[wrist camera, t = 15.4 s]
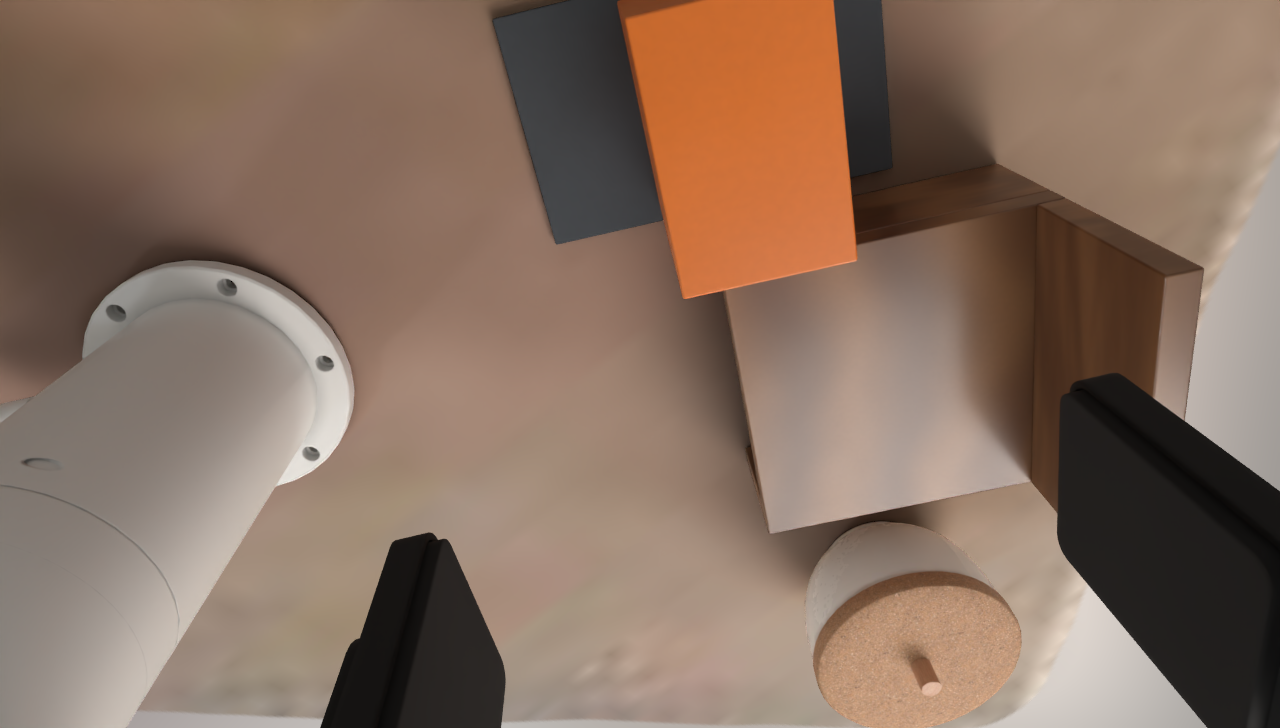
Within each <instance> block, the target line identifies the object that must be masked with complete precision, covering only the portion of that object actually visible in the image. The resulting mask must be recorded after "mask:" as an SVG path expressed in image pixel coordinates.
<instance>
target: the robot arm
mask: <svg viewBox="0 0 1280 728" xmlns="http://www.w3.org/2000/svg"><path fill="white" fill-rule="evenodd" d="M230 280H231V281H233V282H234V284H235V285H234V284H232V282H231V281H230ZM326 356H327V357H329V358H331V359H329V358H327V357H326ZM82 357H83V360H82V361H80V362H79V363H78V364H76V365H75V366H74V367H72V368H71V369H70V370H68V371H67V372H66V373H65V374H63V375H62V376H61V377H59V378H58V379H57V380H55V381H54V382H53V383H52V384H50V385H49V386H48V387H46V388H45V389H44V390H42V391H41V392H40V393H39V394H37V395H36V396H35V397H29V398H25V399H20V400H16V401H11V402H7V403H2V404H0V728H127V726H128V725H129V723H130V721H131V720H132V718H133V716H134V714H135V713H136V711H137V709H138V708H139V706H140V704H141V703H142V701H143V699H144V698H145V696H146V695H147V693H148V691H149V690H150V688H151V686H152V685H153V683H154V682H155V680H156V678H157V677H158V675H159V673H160V672H161V670H162V669H163V667H164V665H165V664H166V662H167V661H168V659H169V658H170V656H171V654H172V653H173V651H174V650H175V648H176V646H177V645H178V643H179V642H180V640H181V638H182V637H183V635H184V633H185V632H186V630H187V629H188V627H189V625H190V624H191V622H192V621H193V619H194V617H195V616H196V614H197V612H198V611H199V609H200V608H201V606H202V604H203V603H204V601H205V600H206V598H207V596H208V595H209V593H210V591H211V590H212V588H213V587H214V585H215V583H216V582H217V580H218V579H219V577H220V575H221V574H222V572H223V570H224V569H225V567H226V566H227V564H228V562H229V561H230V559H231V558H232V556H233V554H234V553H235V551H236V549H237V548H238V546H239V545H240V543H241V541H242V540H243V538H244V537H245V535H246V533H247V532H248V530H249V528H250V527H251V525H252V524H253V522H254V520H255V519H256V517H257V515H258V514H259V512H260V511H261V509H262V507H263V506H264V504H265V503H266V501H267V499H268V498H269V496H270V494H271V493H272V491H273V490H274V488H275V486H278V485H281V484H285V483H288V482H291V481H294V480H296V479H298V478H300V477H302V476H304V475H306V474H308V473H310V472H311V471H313V470H314V469H315V468H317V467H318V466H319V465H320V464H321V463H323V462H324V461H325V460H326V459H327V458H328V457H329V456H330V455H331V453H332V452H333V451H334V449H335V448H336V447H337V445H338V444H339V443H340V441H341V439H342V437H343V435H344V433H345V431H346V429H347V427H348V425H349V421H350V418H351V415H352V411H353V406H354V383H353V377H352V371H351V366H350V364H349V361H348V359H347V356H346V354H345V351H344V349H343V346H342V345H341V343H340V341H339V340H338V338H337V337H336V335H335V333H334V332H333V330H332V329H331V327H330V326H329V325H328V324H327V322H326V321H325V320H324V319H323V318H322V317H321V316H320V315H319V314H318V312H317V311H316V310H315V309H314V308H313V307H312V306H311V305H309V304H308V303H307V302H306V301H304V300H303V299H302V298H301V297H299V296H298V295H297V294H296V293H294V292H293V291H292V290H290V289H288V288H287V287H285V286H283V285H281V284H280V283H278V282H276V281H274V280H273V279H271V278H269V277H267V276H264V275H262V274H259V273H257V272H254V271H251V270H249V269H246V268H244V267H240V266H235V265H230V264H226V263H221V262H217V261H197V260H187V261H180V262H172V263H165V264H162V265H159V266H156V267H153V268H150V269H147V270H144V271H142V272H140V273H138V274H137V275H135V276H133V277H132V278H130V279H128V280H127V281H125V282H123V283H122V284H121V285H119V286H118V287H117V288H116V289H114V290H113V291H112V292H111V293H109V294H108V295H107V296H106V297H105V298H104V299H103V301H102V302H101V303H100V305H99V306H98V307H97V309H96V310H95V311H94V313H93V314H92V316H91V319H90V321H89V324H88V326H87V329H86V332H85V335H84V344H83V352H82ZM1057 536H1058V541H1059V545H1060V547H1061V550H1062V552H1063V554H1064V555H1065V557H1066V558H1067V560H1068V561H1069V562H1070V563H1071V565H1072V566H1073V567H1074V568H1075V569H1076V571H1077V572H1078V573H1079V574H1080V575H1081V577H1082V578H1083V579H1084V580H1085V581H1086V583H1087V584H1088V585H1089V586H1090V587H1091V588H1092V590H1093V591H1094V592H1095V593H1096V594H1097V596H1098V597H1099V598H1100V599H1101V601H1102V602H1103V603H1104V604H1105V605H1106V607H1107V608H1108V609H1109V610H1110V611H1111V612H1112V614H1113V615H1114V616H1115V617H1116V619H1117V620H1118V621H1119V622H1120V623H1121V624H1122V626H1123V627H1124V628H1125V629H1126V631H1127V632H1128V633H1129V634H1130V635H1131V637H1132V638H1133V639H1134V640H1135V641H1136V642H1137V644H1138V645H1139V646H1140V647H1141V649H1142V650H1143V651H1144V652H1145V653H1146V655H1147V656H1148V657H1149V658H1150V659H1151V661H1152V662H1153V663H1154V664H1155V665H1156V666H1157V668H1158V669H1159V670H1160V671H1161V673H1162V674H1163V675H1164V676H1165V677H1166V679H1167V680H1168V681H1169V682H1170V683H1171V685H1172V686H1173V687H1174V688H1175V689H1176V691H1177V692H1178V693H1179V694H1180V695H1181V697H1182V698H1183V699H1184V700H1185V701H1186V703H1187V704H1188V705H1189V706H1190V707H1191V709H1192V710H1193V711H1194V712H1195V713H1196V715H1197V716H1198V717H1199V718H1200V719H1201V721H1202V722H1203V723H1204V724H1205V725H1206V727H1207V728H1280V491H1279V490H1277V489H1276V488H1274V487H1273V486H1272V485H1270V484H1269V483H1268V482H1266V481H1265V480H1264V479H1262V478H1261V477H1259V476H1258V475H1257V474H1256V473H1254V472H1253V471H1252V470H1250V469H1249V468H1247V467H1246V466H1245V465H1243V464H1242V463H1240V462H1239V461H1238V460H1237V459H1235V458H1234V457H1233V456H1231V455H1230V454H1229V453H1227V452H1226V451H1224V450H1223V449H1222V448H1220V447H1219V446H1218V445H1216V444H1215V443H1214V442H1212V441H1211V440H1209V439H1208V438H1207V437H1206V436H1204V435H1203V434H1201V433H1200V432H1199V431H1197V430H1196V429H1195V428H1193V427H1192V426H1190V425H1189V424H1188V423H1187V422H1185V421H1184V420H1183V419H1181V418H1180V417H1178V416H1177V415H1176V414H1174V413H1173V412H1172V411H1170V410H1169V409H1168V408H1166V407H1165V406H1164V405H1162V404H1161V403H1159V402H1158V401H1157V400H1155V399H1154V398H1153V397H1151V396H1150V395H1149V394H1147V393H1146V392H1145V391H1143V390H1142V389H1141V388H1139V387H1138V386H1136V385H1135V384H1134V383H1132V382H1131V381H1130V380H1128V379H1127V378H1126V377H1124V376H1123V375H1121V374H1119V373H1109V374H1105V375H1100V376H1096V377H1092V378H1087V379H1083V380H1079V381H1076V382H1074V383H1073V384H1072V385H1071V387H1070V392H1069V393H1067V394H1064V395H1063V396H1062V397H1061V399H1060V419H1059V468H1058V517H1057ZM504 694H505V670H504V665H503V662H502V659H501V656H500V654H499V652H498V650H497V647H496V645H495V643H494V641H493V638H492V636H491V634H490V632H489V629H488V627H487V625H486V623H485V621H484V618H483V616H482V614H481V612H480V609H479V607H478V605H477V603H476V600H475V598H474V596H473V594H472V591H471V589H470V587H469V585H468V582H467V580H466V578H465V576H464V573H463V571H462V569H461V567H460V564H459V562H458V560H457V558H456V555H455V553H454V551H453V549H452V546H451V544H450V543H449V541H448V540H447V539H441V540H437V538H436V536H435V535H434V534H433V533H425V534H421V535H416V536H412V537H408V538H403V539H399V540H395V541H394V542H393V543H392V544H391V546H390V549H389V552H388V555H387V558H386V561H385V564H384V567H383V570H382V573H381V576H380V579H379V582H378V585H377V588H376V591H375V594H374V597H373V600H372V603H371V606H370V609H369V612H368V615H367V618H366V622H365V625H364V628H363V631H362V634H361V637H360V638H359V639H356V640H355V641H354V642H352V643H351V644H350V646H349V648H348V650H347V652H346V655H345V658H344V661H343V663H342V666H341V669H340V672H339V675H338V678H337V681H336V684H335V687H334V690H333V692H332V695H331V698H330V701H329V704H328V707H327V710H326V713H325V716H324V719H323V721H322V724H321V727H320V728H501V722H502V713H503V703H504Z"/></svg>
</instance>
